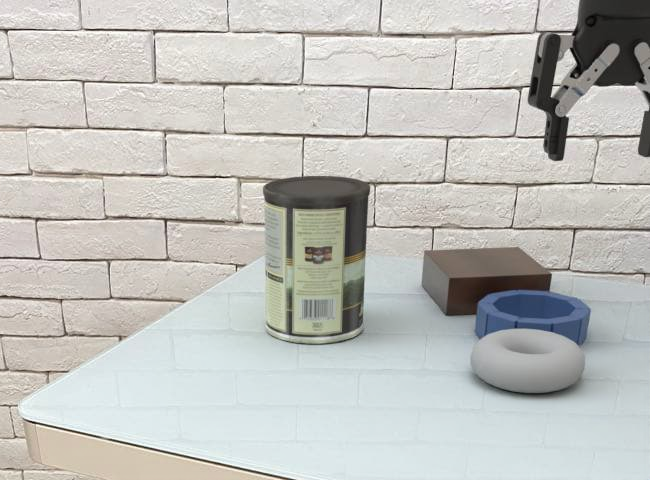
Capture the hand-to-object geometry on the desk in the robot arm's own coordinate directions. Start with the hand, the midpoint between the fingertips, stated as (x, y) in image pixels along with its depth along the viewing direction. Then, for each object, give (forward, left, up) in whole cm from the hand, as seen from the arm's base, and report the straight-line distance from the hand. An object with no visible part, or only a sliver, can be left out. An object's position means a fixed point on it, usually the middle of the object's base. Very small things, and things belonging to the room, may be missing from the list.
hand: (600, 157), depth 88 cm
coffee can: (+26, -5, -17) cm, 31 cm away
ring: (+4, 0, -17) cm, 17 cm away
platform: (+6, -12, -17) cm, 21 cm away
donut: (+9, +11, -17) cm, 22 cm away
